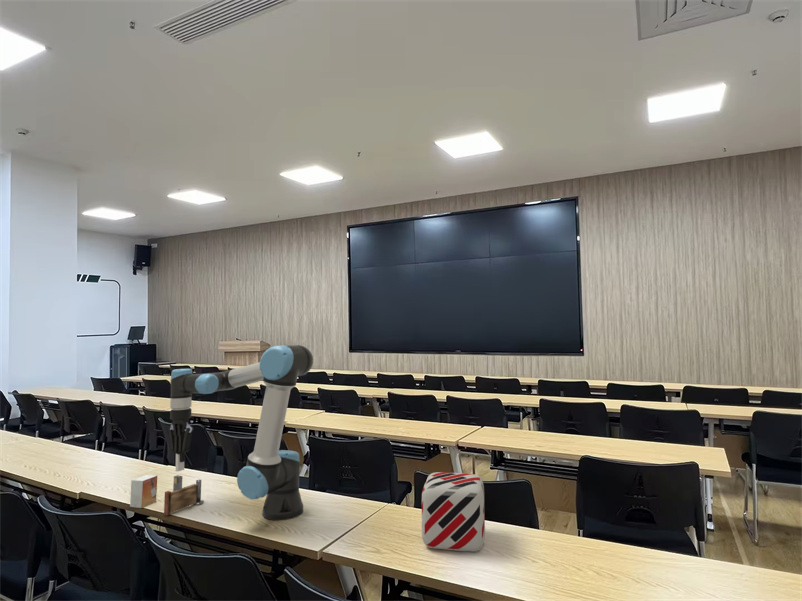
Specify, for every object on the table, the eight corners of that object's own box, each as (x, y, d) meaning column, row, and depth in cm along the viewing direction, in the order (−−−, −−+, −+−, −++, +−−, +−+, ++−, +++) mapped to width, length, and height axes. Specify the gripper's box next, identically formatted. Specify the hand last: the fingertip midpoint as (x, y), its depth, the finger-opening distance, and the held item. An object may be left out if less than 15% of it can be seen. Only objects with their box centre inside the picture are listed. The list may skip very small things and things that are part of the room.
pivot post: (206, 502, 186) (207, 479, 187) (197, 505, 182) (198, 482, 183) (198, 500, 188) (199, 478, 189) (189, 504, 184) (190, 481, 185)
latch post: (185, 496, 194) (186, 475, 194) (178, 498, 191) (179, 477, 191) (177, 494, 196) (178, 474, 196) (170, 497, 193) (171, 476, 193)
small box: (141, 508, 180) (142, 480, 181) (129, 507, 181) (130, 479, 182) (156, 501, 187) (157, 475, 188) (145, 500, 189) (146, 474, 190)
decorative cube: (485, 557, 139) (484, 489, 141) (420, 552, 143) (419, 486, 145) (484, 530, 159) (484, 471, 161) (427, 526, 163) (427, 468, 164)
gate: (193, 503, 184) (194, 481, 185) (197, 504, 183) (197, 482, 184) (163, 515, 172) (164, 491, 173) (167, 515, 171) (168, 492, 172)
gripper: (200, 407, 180) (199, 469, 178) (178, 406, 187) (177, 466, 184) (183, 410, 174) (182, 474, 172) (161, 409, 180) (160, 471, 178)
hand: (179, 470), depth 178 cm, fingers closed
